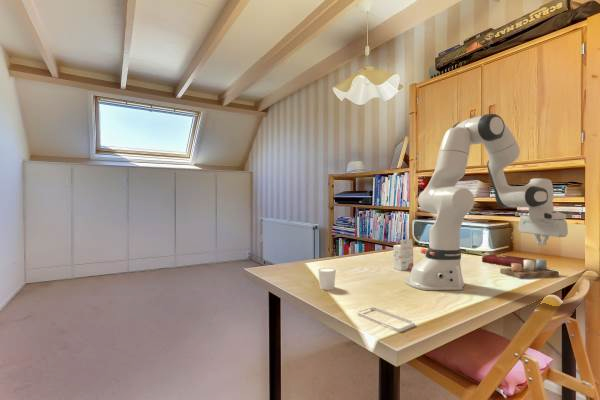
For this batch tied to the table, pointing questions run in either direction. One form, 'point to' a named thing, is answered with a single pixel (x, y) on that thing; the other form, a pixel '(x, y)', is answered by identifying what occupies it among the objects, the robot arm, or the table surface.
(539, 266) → the slate-grey button
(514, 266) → the terracotta button
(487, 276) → the table surface
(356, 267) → the table surface
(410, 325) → the beige elongated ring
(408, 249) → the ink cartridge box
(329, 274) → the shot glass
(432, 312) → the table surface
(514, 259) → the hardcover book
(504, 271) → the button board
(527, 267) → the cream button
